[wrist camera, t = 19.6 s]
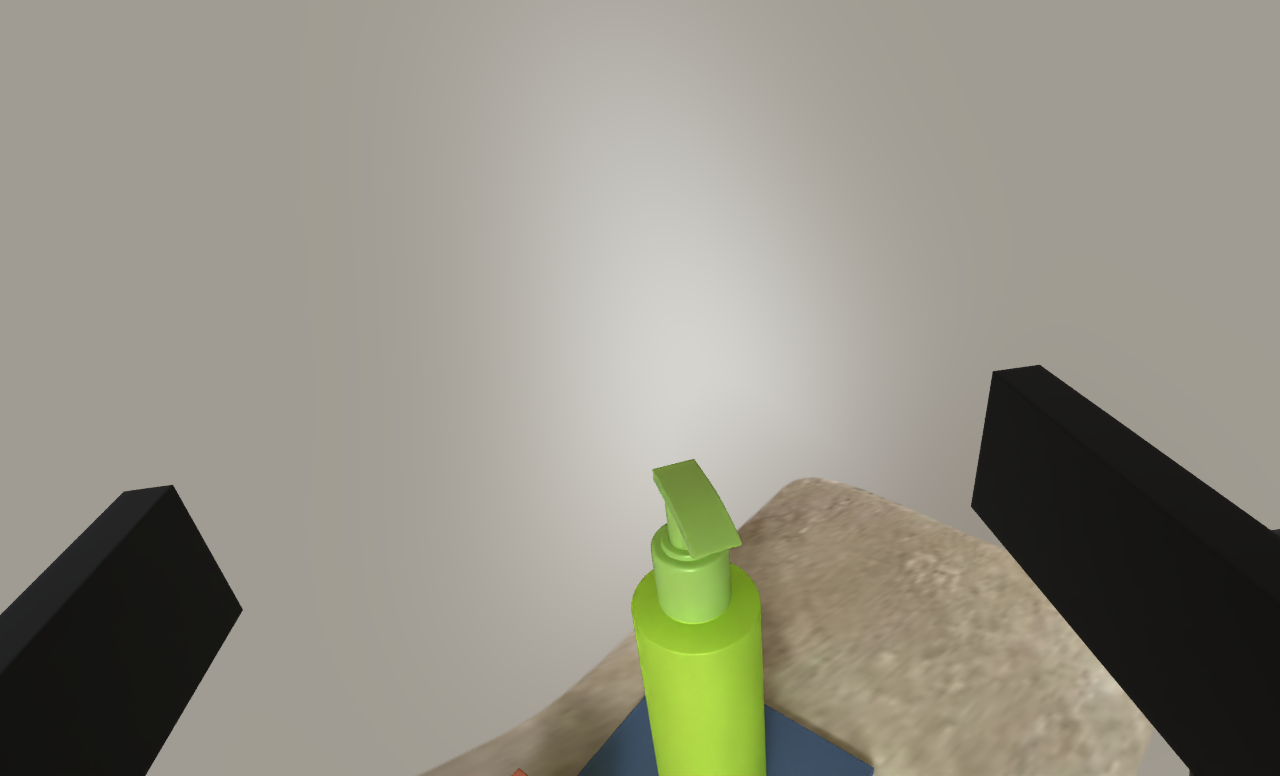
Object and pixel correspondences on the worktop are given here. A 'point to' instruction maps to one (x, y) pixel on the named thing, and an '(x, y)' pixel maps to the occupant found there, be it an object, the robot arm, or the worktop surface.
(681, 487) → the soap dispenser
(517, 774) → the terracotta block
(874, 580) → the worktop surface
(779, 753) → the slate mat
